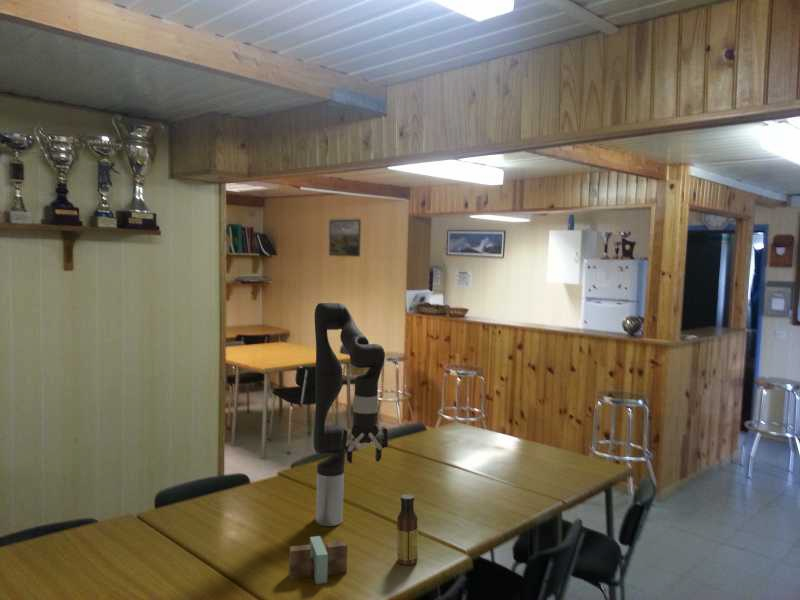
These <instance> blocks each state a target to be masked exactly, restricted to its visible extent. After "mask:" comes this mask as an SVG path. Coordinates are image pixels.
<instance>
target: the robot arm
mask: <svg viewBox="0 0 800 600" xmlns="http://www.w3.org/2000/svg"><path fill="white" fill-rule="evenodd" d="M329 330H331V331H335V330H336V331H338V330H341V332H340V341H341V344H342V346H343V347H344V348H345V349H346V351H347V352H348V355H349V361H350V363H351V365H352V366H353V367H354V368H358V369H366V368H368V370H367V372H364V373H363V374H362V373H361V374H359V375H357V376H355V379H354V396H353V404H352V408H353V409H352V426H351V428H350V429H349V428H345V426H344V425H341V424H335V425H333V424H332V425H326V419H327V416H328V413H329V411H330V409H331V407H332V406H333V405H334V404H333V403H334V402H335V401H336V400H337V398H338V396H339V394H340V393H341V391H342V388H343V367H342V364H341V362H340V360H339V359H338V357H337V355H336V353H335V352H334V351H333V349H332V347H331V344H330V341H329V338H328V331H329ZM314 333H315V334H314V335H315V370H314V371H315V375H314V376H315V379H314V382H315V383H314V385H315V386H314V387H315V410H314V411H315V412H314V423H313V424H314V427H313V448H314V452H315V453H316V454H318V455H319V454H320V455H321V454H332V455H330V456H329V457H327V458H326V459H323V460H321V461H319V462H318V464H317V466H316V467H317V468H316V495H315V496H316V498H315V500H316V501H315V523H316V524H317V525H319V526H321V527H322V526H323V527H335V526H338V525H340V524H342V522H343V519H344V518H343V516H344V490H345V489H344V488H345V486H344V482H345V480H344V479H345V464H346V462H345V461H346V460H347V462H348V463H349V464H353V449H354V448H355V447H356V446H357V445H358V444H359V443H360V444H370V443H371V442H372V443H373V444H374V445H375V446H376V448H375V461H376V463H379V462H380V460H382V452H383V451H382V450H383V449H385V448H386V449H387V448H388V445H389V443H388V442H389V440H388V439H389V438H388V429H387V428H386V426H382V427H378V419H379V418H378V414H379V393H378V391H379V381H380V376H381V373H382V370H383V366H384V363H385V360H386V359H385V358H386V353H385V350H384V347H382V345H381V344H376V343H371V344H370V342H369V340H368V337H366V336H365V335H364V333H362V331H360V329H359V328H358V326H357V325H356V323H355V319H354V318H353V317H352V314H351V313H350V311H349V309H348V307H347V306H346V305H345V304H343V303H338V302H337V303H335V302H333V303H332V302H320V303H318V304H317V305H316V307H315V309H314ZM350 434H351V435H352V438H351V439H350V441H349V442H347V441H348V440H347V439H348V437H350ZM378 434H380V435H381V443H380V442H379V441H378V440H377V438H376V436H377V435H378ZM347 443H348V444H347Z"/></svg>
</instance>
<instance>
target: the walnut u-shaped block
mask: <svg viewBox="0 0 800 600" xmlns="http://www.w3.org/2000/svg"><path fill="white" fill-rule="evenodd" d="M325 545H326V546H325V549H326V551H327V554H328V566H327V576H330V575H338V574H340V575H341V574H345V573H346V574H347V572H348V543H347V541H345V540H340V541H331V542H326V543H325ZM288 563H289V565H288V569H289V570H288V571H289V572H288V575H289V578H290V580H297V579H307V578H312V577H313V578H314V561H313V558H311V548H310V544H302V545H292V546H289V560H288Z"/></svg>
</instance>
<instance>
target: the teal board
mask: <svg viewBox="0 0 800 600" xmlns="http://www.w3.org/2000/svg"><path fill="white" fill-rule="evenodd" d="M309 545H310V548H311V558H313V561H314V577H313V579H314V582H315V584H316V585H319V584H326V583H327V584H328V575H327V566H328V554H327V551H326V546H325V545H324V542H323V539H322V537H321V535H317V536H315V535H314V536H310V537H309Z"/></svg>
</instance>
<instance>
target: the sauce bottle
mask: <svg viewBox="0 0 800 600" xmlns="http://www.w3.org/2000/svg"><path fill="white" fill-rule="evenodd" d="M400 502H401V503H400V505H401V508H400V512H399V513H398V515H397V518H396V519H397V520H396V521H397V525H396V544H397V545H396V554H397V562H398V563H399V564H401V565H404V564H405V566H411V565H415V564H417V563H418V559H419V558H418V556H419V532H418V531H419V530H418V529H419V527H418V526H419V525H418V516H417V515H416V513H415V510H414V505H415V504H414V502H415V497H414V495H413V494H410V493H409V494H406V493H405V494H402V495H401V496H400Z"/></svg>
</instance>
